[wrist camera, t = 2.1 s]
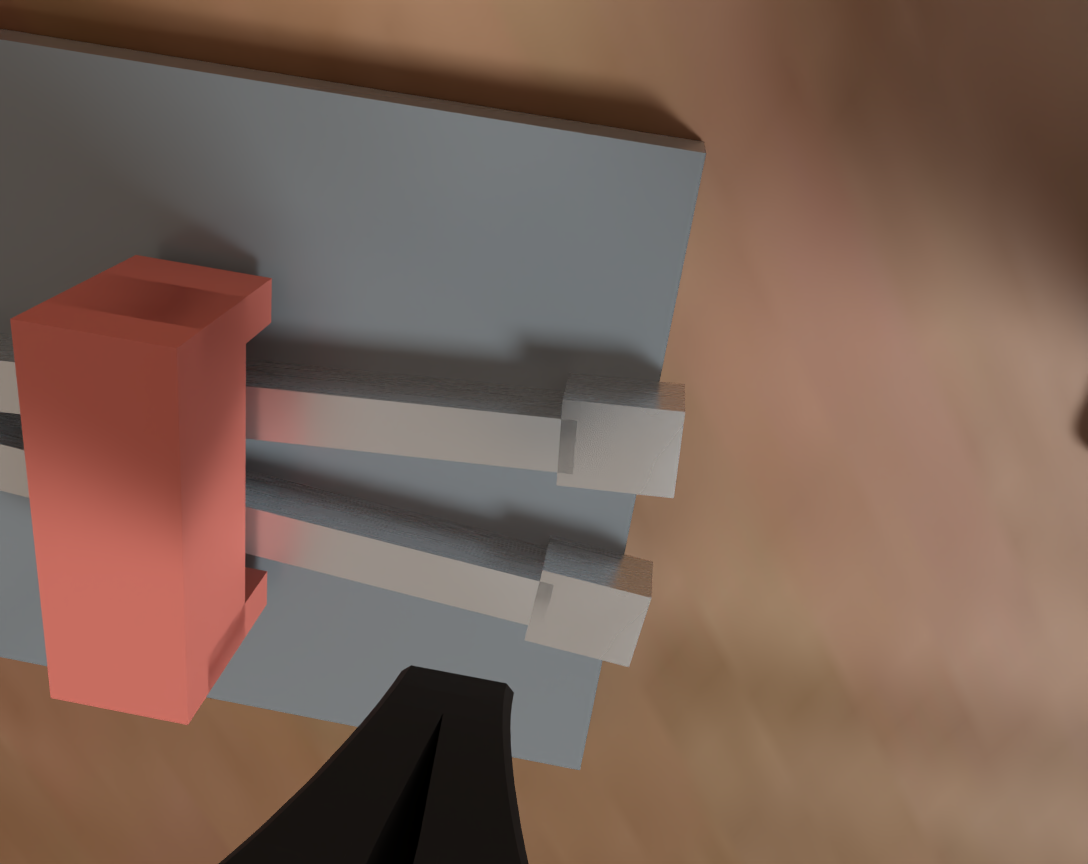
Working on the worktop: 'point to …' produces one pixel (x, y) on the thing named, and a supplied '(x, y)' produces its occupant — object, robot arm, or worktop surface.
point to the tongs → (463, 436)
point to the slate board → (357, 318)
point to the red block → (141, 480)
